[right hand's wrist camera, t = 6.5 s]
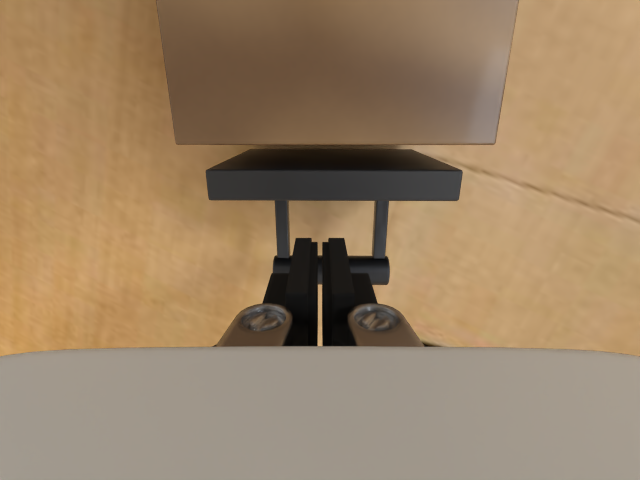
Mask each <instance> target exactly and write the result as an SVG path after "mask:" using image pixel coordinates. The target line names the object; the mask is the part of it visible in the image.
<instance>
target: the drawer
mask: <svg viewBox="0 0 640 480" xmlns="http://www.w3.org/2000/svg"><path fill="white" fill-rule="evenodd" d="M462 173H463V172H462V170H460V169H457V168H455V167H453V166H450V165H448V164H445V163H443V162H440V161H438V160H436V159H433V158H431V157H428V156H426V155H424V154H421V153H419V152H416V151H414V150H411V149H250V150H248V151H246V152H244V153H242V154H240V155H237V156H235V157H233V158H231V159H229V160H227V161H225V162H222V163H220V164H218V165H216V166H214V167H212V168H210V169H208V170H206V179H207V188H208V197H209V200H275V215H276V236H277V255H276V256H275V257H274V261H273V273H289V271H290V266H291V261H292V256H290V232H289V201H288V200H308V201H375V206H374V224H373V243H372V256H348V261H349V266H350V271H351V273H368V274H369V277H370V280H371V283H372V285H387V284H388V282H389V276H390V267H389V260H388V257H387V256H385V250H386V236H387V221H388V206H389V201H457V200H459V195H460V187H461V180H462ZM318 284H322V256H318Z"/></svg>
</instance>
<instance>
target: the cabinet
mask: <svg viewBox="0 0 640 480" xmlns="http://www.w3.org/2000/svg"><path fill="white" fill-rule="evenodd" d="M156 3H157V10H158V17H159V24H160V32H161V39H162V46H163V54H164V61H165V68H166V75H167V83H168V90H169V97H170V104H171V112H172V119H173V126H174V133H175V141H176V144H178V145H494V144H495V142H496V136H497V130H498V124H499V118H500V111H501V105H502V99H503V93H504V87H505V81H506V75H507V69H508V63H509V57H510V51H511V45H512V39H513V33H514V27H515V21H516V15H517V9H518V3H519V0H156Z"/></svg>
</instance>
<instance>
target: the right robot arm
mask: <svg viewBox="0 0 640 480" xmlns="http://www.w3.org/2000/svg"><path fill="white" fill-rule="evenodd" d="M317 336H318V243H317V242H312V240H311V238H296V240H295V245H294V250H293V256H292V261H291V266H290V271H289V273H272V274H271V277H270V280H269V283H268V287H267V290H266V293H265V297H264V300H263V303H262V304H257V305H253V306H250V307H247V308H246V309H244V310H242V311H241V312H240V313H239V314H238V315H237V316H236V317H235V319H234V320H233V322H232V323H231V325H230V326H229V328H228V329H227V331H226V332H225V333H224V335H223V336H222V338H221V339H220V341H219V342H218V344H217V345H215V346H212V347H153V348H102V349H68V350H53V351H38V352H28V353H20V354H12V355H6V356H0V480H640V356H634V355H628V354H620V353H611V352H603V351H587V350H570V349H538V348H497V347H428V346H425V345H423V344H422V342H421V341H420V339H419V338H418V336H417V335H416V333H415V332H414V331H413V329H412V328H411V326H410V325H409V323H408V322H407V320H406V319H405V317H404V316H403V315H402V314H401V313H400V312H399V311H398V310H396V309H394V308H393V307H390V306H387V305H383V304H378V303H377V300H376V297H375V293H374V290H373V287H372V283H371V280H370V277H369V274H368V273H351V271H350V266H349V261H348V256H347V250H346V245H345V240H344V238H329V240H328V242H323V243H322V336H323V346H317Z"/></svg>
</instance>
